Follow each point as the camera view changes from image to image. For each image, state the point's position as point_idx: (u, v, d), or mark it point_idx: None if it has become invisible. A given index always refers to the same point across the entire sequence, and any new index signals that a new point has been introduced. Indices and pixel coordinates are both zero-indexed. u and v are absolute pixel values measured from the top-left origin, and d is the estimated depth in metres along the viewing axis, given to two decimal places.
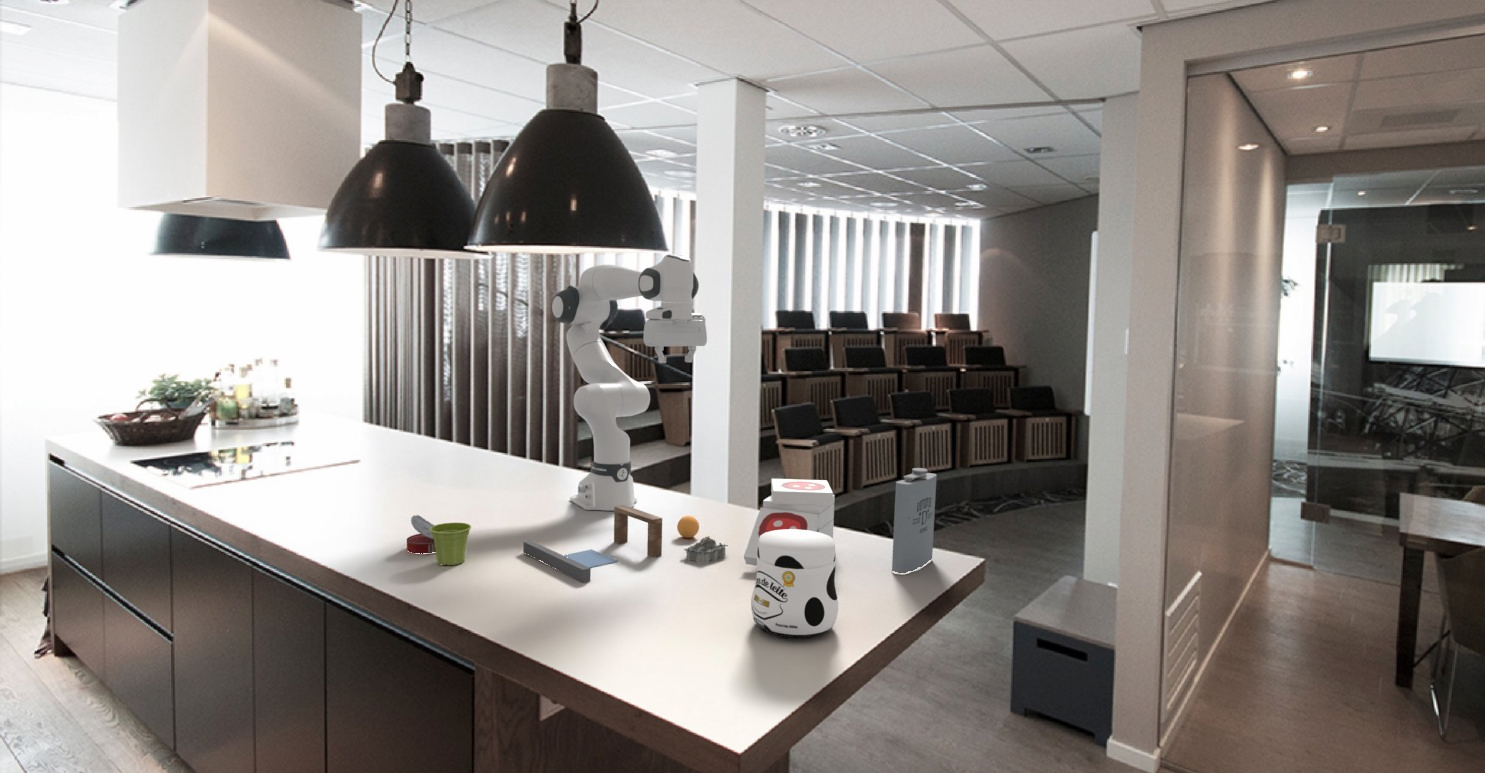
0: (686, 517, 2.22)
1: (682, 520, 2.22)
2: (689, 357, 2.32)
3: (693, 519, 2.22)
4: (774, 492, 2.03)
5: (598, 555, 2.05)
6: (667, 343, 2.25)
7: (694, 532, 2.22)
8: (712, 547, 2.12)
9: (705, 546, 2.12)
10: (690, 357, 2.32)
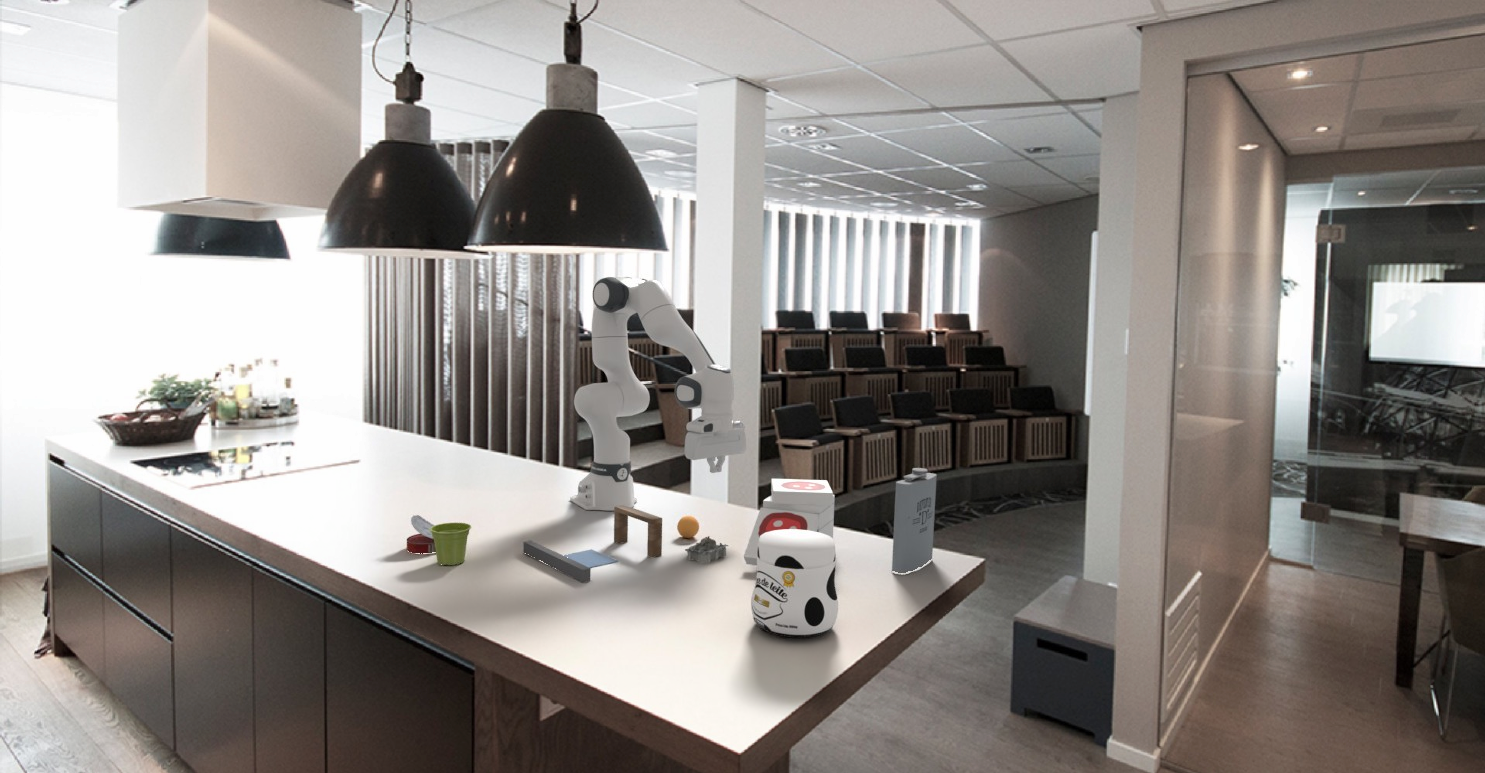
0: (686, 517, 2.22)
1: (682, 520, 2.22)
2: (718, 467, 2.28)
3: (693, 519, 2.22)
4: (774, 492, 2.03)
5: (598, 555, 2.05)
6: (708, 455, 2.24)
7: (694, 532, 2.22)
8: (712, 547, 2.12)
9: (705, 546, 2.12)
10: (719, 467, 2.28)
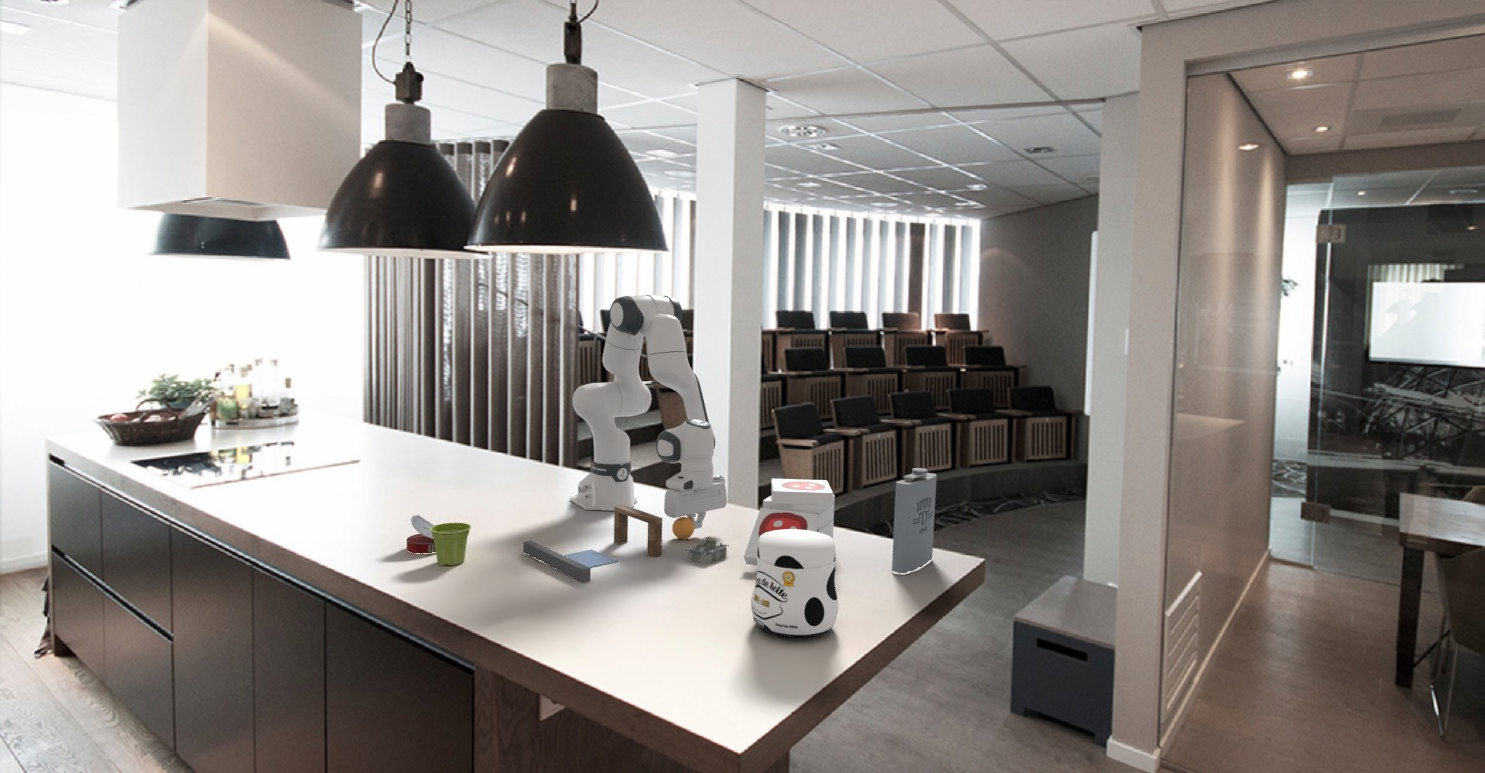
0: (678, 521, 2.20)
1: (675, 525, 2.20)
2: (699, 523, 2.25)
3: (685, 521, 2.20)
4: (774, 492, 2.03)
5: (598, 555, 2.05)
6: (688, 512, 2.20)
7: (690, 533, 2.20)
8: (712, 547, 2.12)
9: (705, 546, 2.12)
10: (699, 523, 2.25)
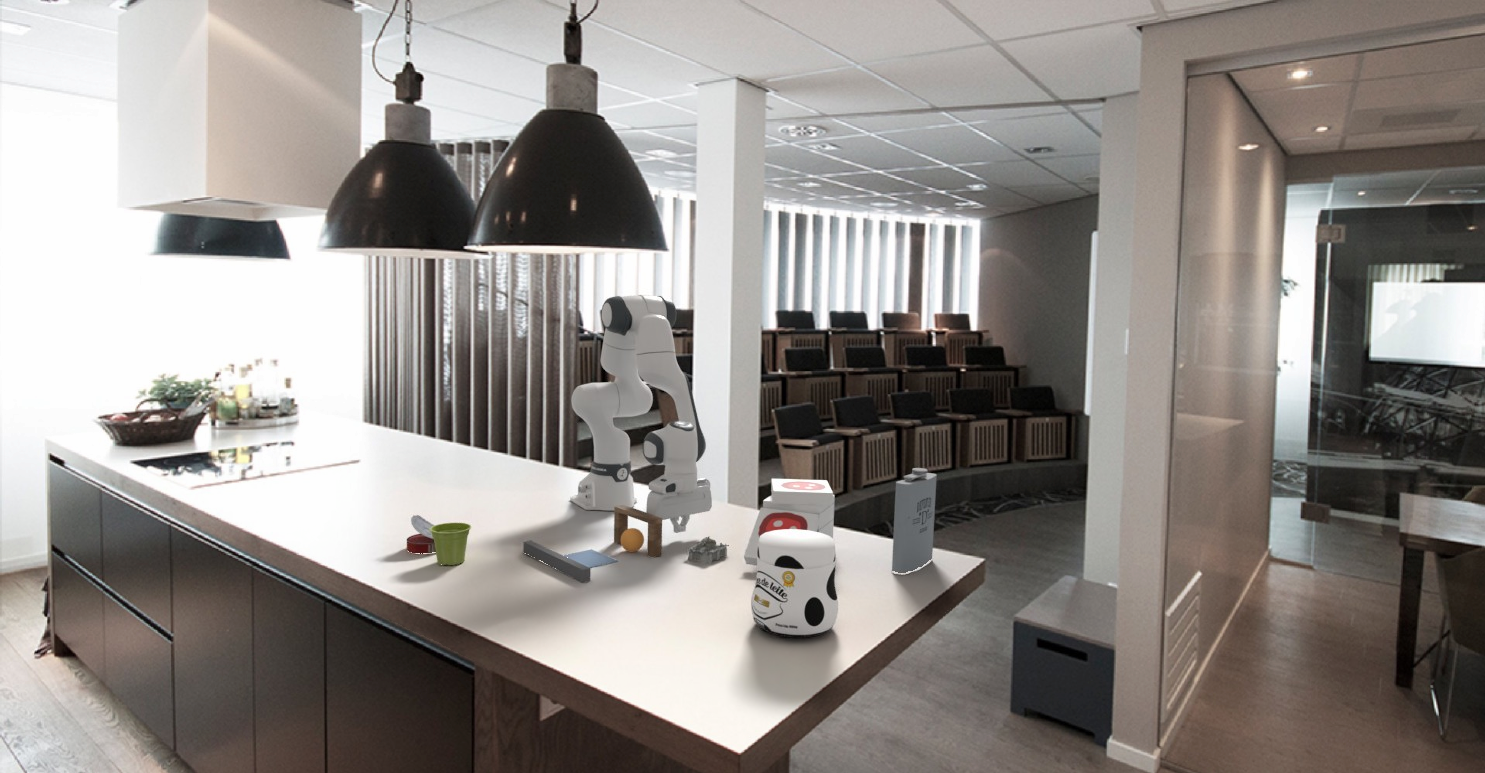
0: (630, 530, 2.08)
1: (625, 533, 2.08)
2: (682, 526, 2.21)
3: (637, 532, 2.08)
4: (774, 492, 2.03)
5: (598, 555, 2.05)
6: (671, 515, 2.17)
7: (638, 546, 2.07)
8: (712, 547, 2.12)
9: (705, 546, 2.12)
10: (683, 527, 2.21)
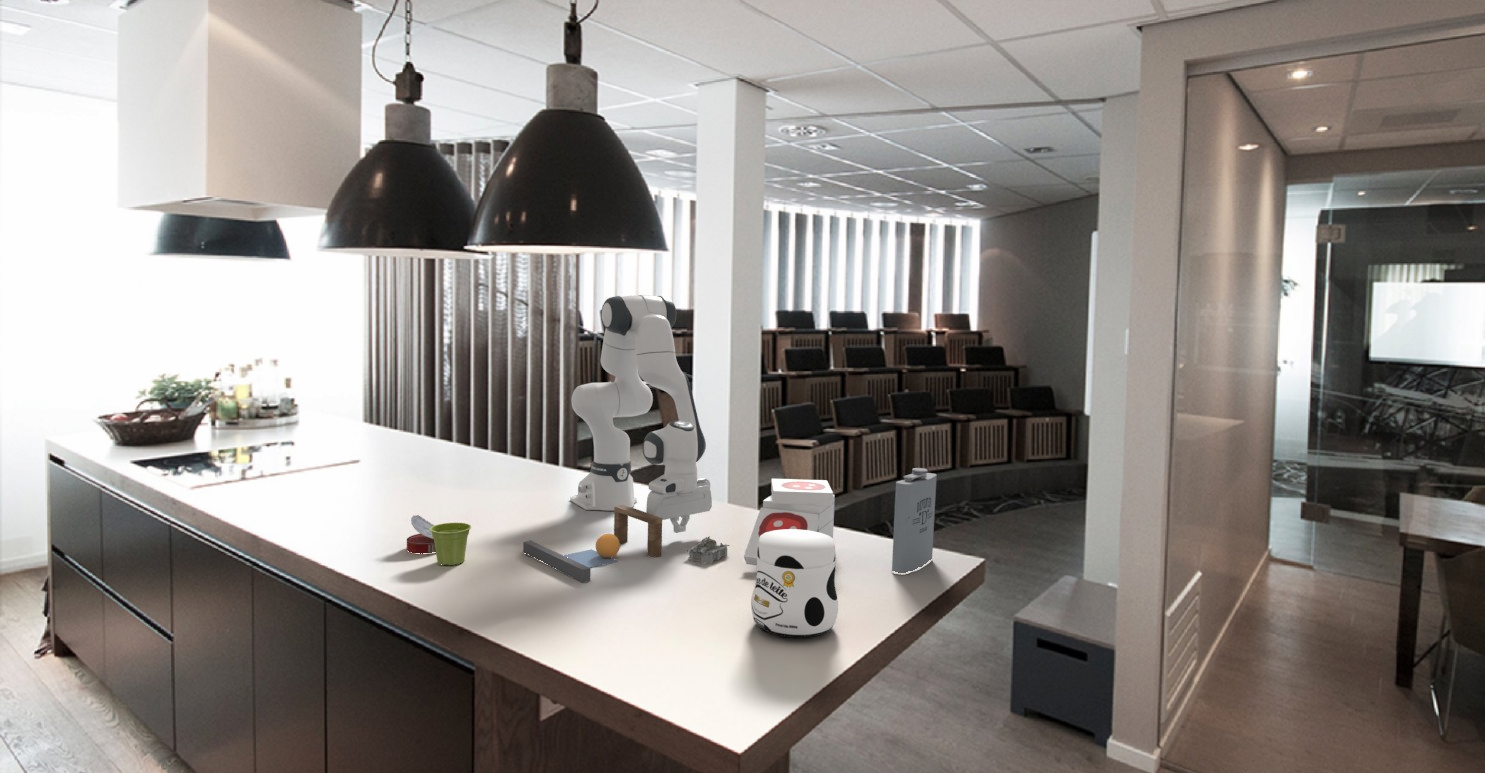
0: None
1: None
2: (682, 526, 2.21)
3: (607, 555, 2.02)
4: (774, 492, 2.03)
5: (598, 555, 2.05)
6: (671, 515, 2.17)
7: (617, 544, 2.02)
8: (712, 547, 2.12)
9: (705, 546, 2.12)
10: (683, 527, 2.21)
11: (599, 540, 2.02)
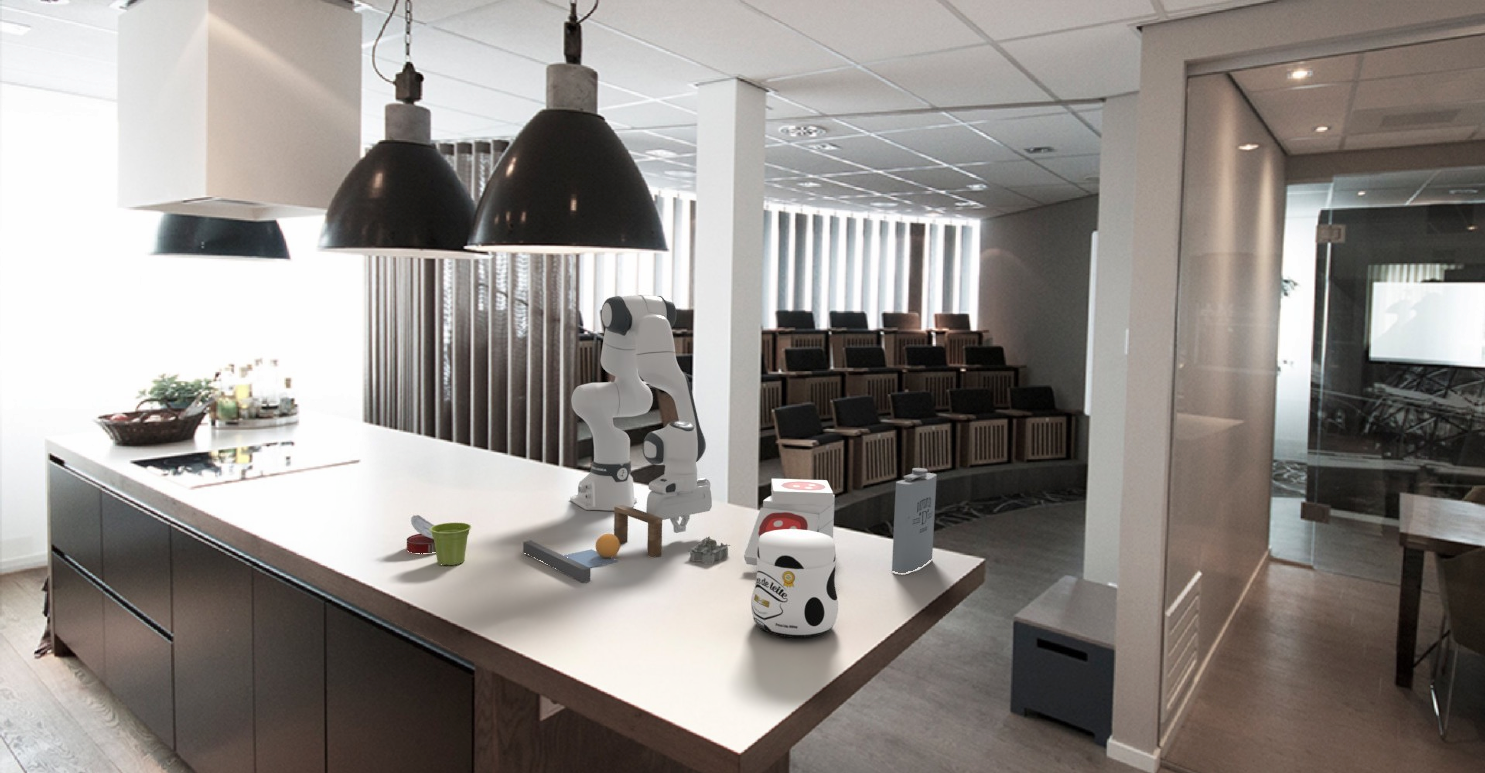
0: None
1: None
2: (682, 526, 2.21)
3: (607, 555, 2.02)
4: (774, 492, 2.03)
5: (598, 555, 2.05)
6: (671, 515, 2.17)
7: (617, 544, 2.02)
8: (713, 547, 2.12)
9: (706, 547, 2.12)
10: (683, 527, 2.21)
11: (599, 540, 2.02)
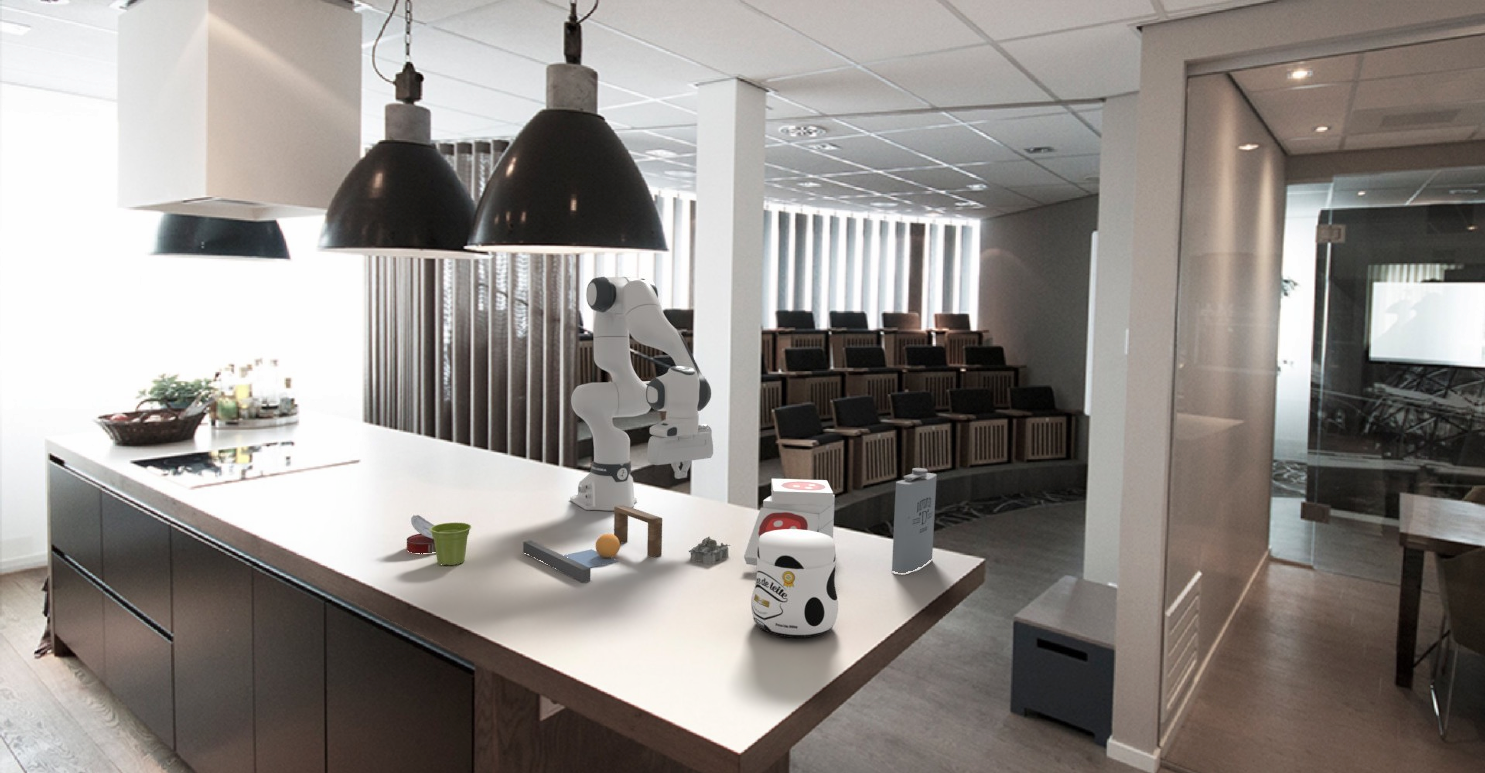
0: None
1: None
2: (683, 472, 2.20)
3: (607, 555, 2.02)
4: (774, 492, 2.03)
5: (598, 555, 2.05)
6: (672, 460, 2.15)
7: (617, 544, 2.02)
8: (713, 547, 2.12)
9: (706, 547, 2.12)
10: (684, 472, 2.20)
11: (599, 540, 2.02)
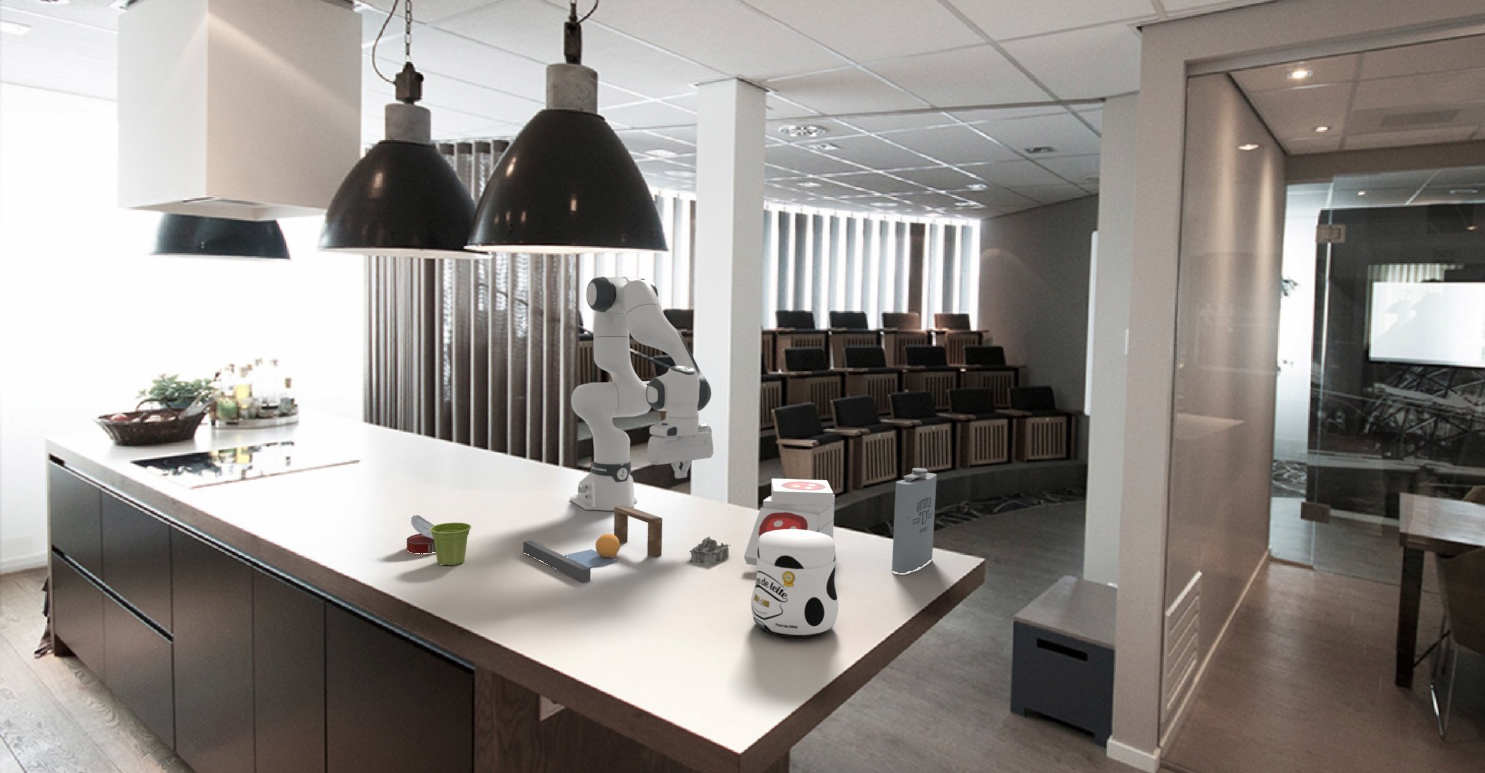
0: None
1: None
2: (683, 472, 2.20)
3: (607, 555, 2.02)
4: (774, 492, 2.03)
5: (598, 555, 2.05)
6: (672, 460, 2.15)
7: (617, 544, 2.02)
8: (713, 547, 2.12)
9: (706, 547, 2.12)
10: (684, 472, 2.20)
11: (599, 540, 2.02)
